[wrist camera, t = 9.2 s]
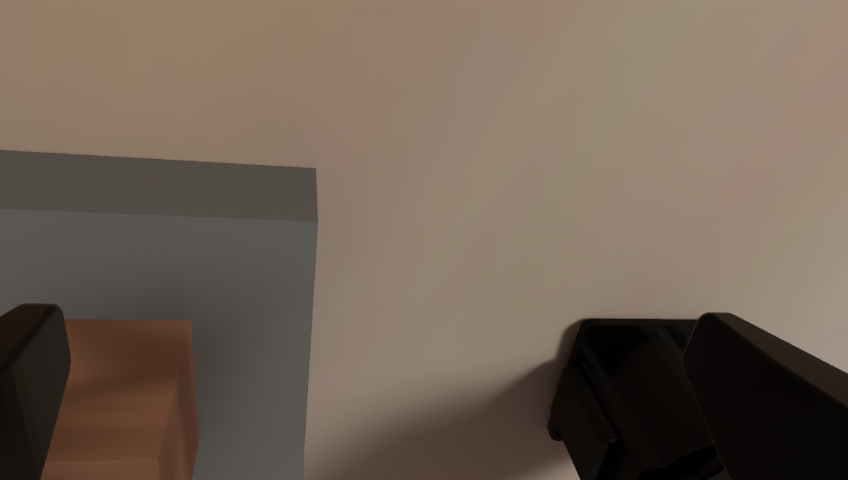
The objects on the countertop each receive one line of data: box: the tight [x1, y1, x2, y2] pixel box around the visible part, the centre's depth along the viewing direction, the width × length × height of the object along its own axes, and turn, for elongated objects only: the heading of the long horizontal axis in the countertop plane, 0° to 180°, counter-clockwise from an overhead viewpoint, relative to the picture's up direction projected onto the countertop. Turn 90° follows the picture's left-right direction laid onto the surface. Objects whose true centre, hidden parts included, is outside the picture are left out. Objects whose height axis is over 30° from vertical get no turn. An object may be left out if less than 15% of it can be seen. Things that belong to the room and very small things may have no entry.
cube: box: [40, 319, 199, 480], centre depth 17 cm, size 5×5×5 cm
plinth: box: [0, 150, 318, 480], centre depth 21 cm, size 12×12×4 cm
